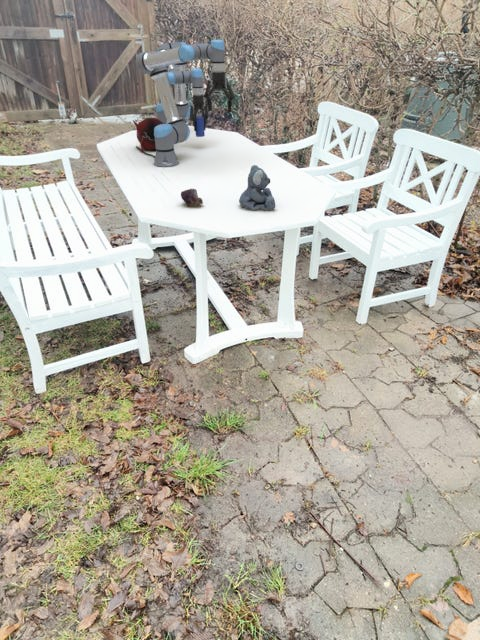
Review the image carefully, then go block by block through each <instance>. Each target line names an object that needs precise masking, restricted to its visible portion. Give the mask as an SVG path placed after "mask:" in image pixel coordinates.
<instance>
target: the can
mask: <svg viewBox="0 0 480 640" xmlns="http://www.w3.org/2000/svg"><path fill="white" fill-rule="evenodd" d="M196 122H197V132H196V131H195V137H197V138H198V137H199V138H202V137H205V135H206V134H205V130H204V117H202V115H201V116H200V115H197V116H196Z"/></svg>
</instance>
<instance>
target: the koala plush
mask: <svg viewBox="0 0 480 640" xmlns="http://www.w3.org/2000/svg"><path fill="white" fill-rule="evenodd" d="M270 183H271V178H269V176H268V175H267V173H266V172H265V170H264V169H263V168H261V167H259V165H257V164H253V165H250V170H249V173H248V176H247V188H246V189H245V190H244V191H243V192H242V193H241V194H240V197H239V199H238V203H239V204H240V206H241V207H242V208H246V209H247V210H252V211H255V210H261V211H272V210H274V209H275V208H276V200H275V198H274V196H273V194H272V191H271V188H270V187H268V186H269V185H270Z"/></svg>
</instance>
